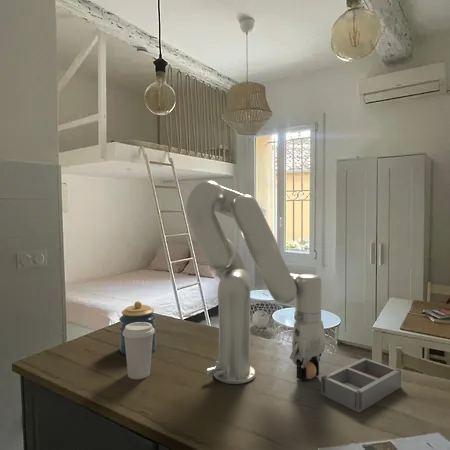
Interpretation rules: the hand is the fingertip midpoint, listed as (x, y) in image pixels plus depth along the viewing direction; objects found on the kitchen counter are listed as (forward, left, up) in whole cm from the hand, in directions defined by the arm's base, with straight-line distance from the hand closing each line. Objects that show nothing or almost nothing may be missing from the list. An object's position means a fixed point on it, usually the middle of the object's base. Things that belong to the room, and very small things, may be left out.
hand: (307, 376), depth 104 cm
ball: (0, 0, +2) cm, 2 cm away
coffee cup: (-39, +33, -1) cm, 51 cm away
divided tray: (+6, -14, -1) cm, 15 cm away
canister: (-31, +52, -1) cm, 61 cm away
